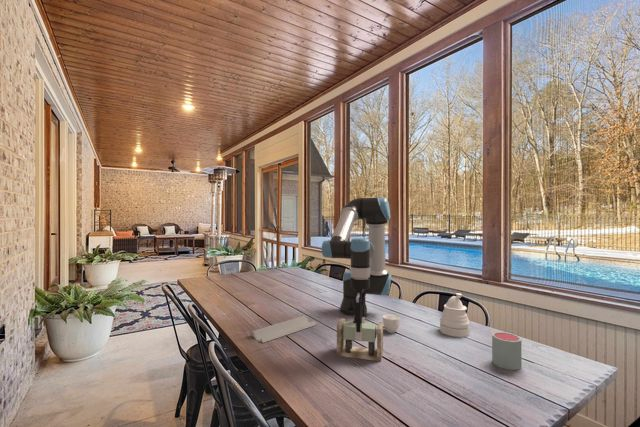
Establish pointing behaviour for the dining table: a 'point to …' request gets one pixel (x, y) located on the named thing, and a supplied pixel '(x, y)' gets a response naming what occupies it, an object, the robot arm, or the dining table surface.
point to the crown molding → (281, 329)
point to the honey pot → (455, 318)
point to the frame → (359, 352)
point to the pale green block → (367, 331)
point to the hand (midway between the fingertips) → (360, 336)
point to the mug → (506, 350)
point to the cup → (391, 322)
